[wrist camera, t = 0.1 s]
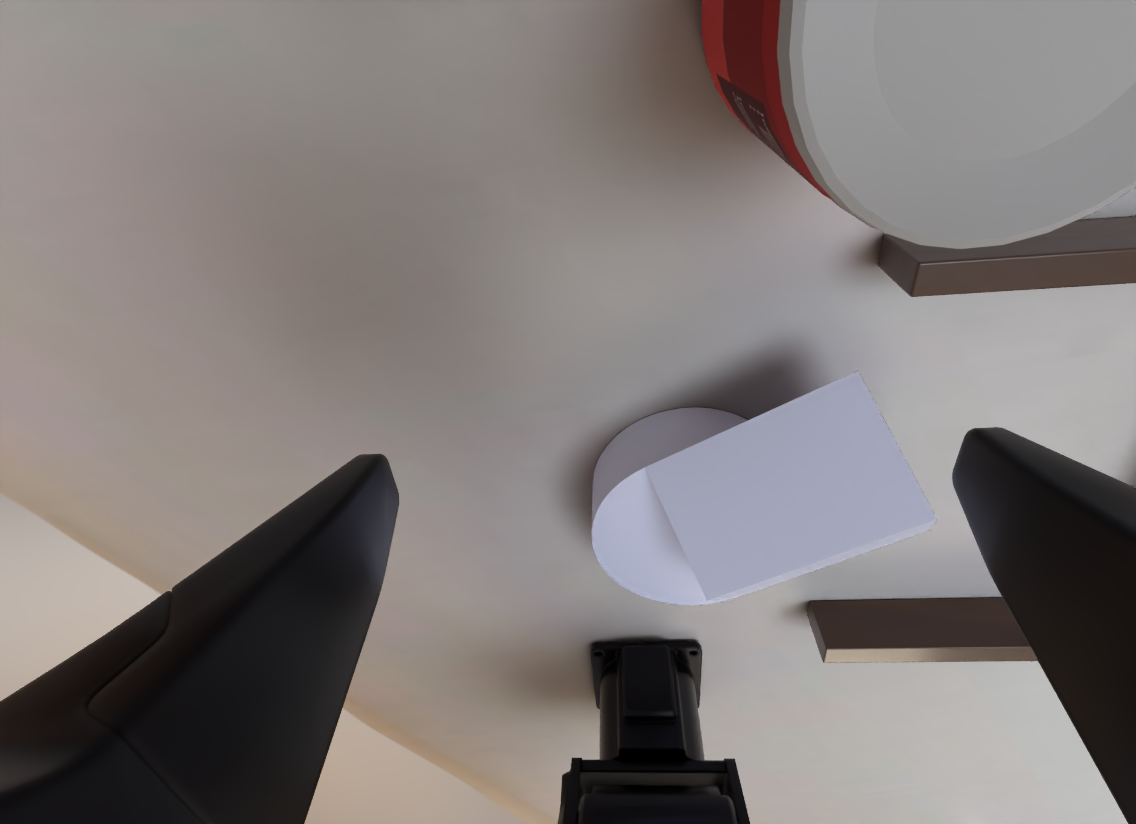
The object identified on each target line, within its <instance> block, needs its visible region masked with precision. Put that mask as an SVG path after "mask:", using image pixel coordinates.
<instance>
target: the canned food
mask: <svg viewBox="0 0 1136 824" xmlns="http://www.w3.org/2000/svg"><path fill="white" fill-rule="evenodd" d="M702 38H703V44H704V50H705V56H706V62H707V65H708V68H709V71H710V74H711V76H712V79H713V82H714V85H715V88H716V89H717V91H718V92H719V94H720V96H721V97H722V99H723V101H724V102H725V104H726V106H727V107H728V109H729V110H730V111H731V112H732V113H733V114H734V115H735V116H736V117H737V118H738V119H739V121H740V122H741V123H742V124H743V125H744V126H745V127H747V128H748V129H749V130H750V131H751V132H752V133H753V134H755V135H756V136H757V137H758V138H759V139H760V140H761V141H763V142H764V143H765V144H766V145H767V146H768V147H769V148H771V149H772V150H773V151H774V152H775V153H776V154H777V155H779V156H780V157H781V158H782V159H783V160H784V161H785V162H787V163H788V164H789V165H790V166H791V167H792V168H793V169H795V170H796V171H797V172H798V173H799V174H800V175H801V176H803V177H804V178H805V179H806V180H807V181H808V182H809V183H811V184H812V185H813V186H814V187H815V188H816V189H817V190H819V191H820V192H821V193H822V194H823V195H825V196H826V197H828V198H830V199H831V200H832V201H833V202H835V203H836V204H837V205H838V206H839V207H840V208H842V209H844V210H845V211H847V212H848V213H850V214H851V215H853V216H855V217H856V218H858V219H859V220H861V221H862V222H864V223H866V224H867V225H869V226H870V227H872V228H875V229H878V230H881V231H882V232H884V233H886V234H889V235H892V236H895V237H898V238H901V239H904V240H907V241H910V242H913V243H916V244H919V245H925V246H935V247H945V248H955V249H966V248H976V247H987V246H997V245H1005V244H1008V243H1012V242H1016V241H1019V240H1023V239H1027V238H1030V237H1034V236H1038V235H1041V234H1045V233H1049V232H1051V231H1053V230H1055V229H1058V228H1060V227H1062V226H1064V225H1067V224H1069V223H1071V222H1074V221H1076V220H1078V219H1080V218H1083V217H1085V216H1087V215H1090V214H1092V213H1094V212H1096V211H1098V210H1099V209H1101V208H1103V207H1104V206H1106V205H1108V204H1109V203H1111V202H1113V201H1114V200H1116V199H1117V198H1119V197H1121V196H1122V195H1124V194H1126V193H1127V192H1129V191H1131V190H1132V189H1134V188H1136V0H702Z"/></svg>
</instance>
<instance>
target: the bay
mask: <svg viewBox="0 0 1136 824" xmlns="http://www.w3.org/2000/svg"><path fill="white" fill-rule="evenodd" d="M878 266H879V267H880V268H881V269H882V270H883V271H884V272H885V273H886V274H887V275H888V276H889V277H890V278H891V279H893V280H894V281H895V282H896V283H897V284H898V285H899V286H900V287H901V288H902V289H903V290H904V291H905V292H906V293H907V294H908V295H909V296H911V297H917V296H933V295H949V294H965V293H981V292H997V291H1013V290H1029V289H1045V288H1061V287H1077V286H1094V285H1110V284H1126V283H1136V216H1134V217H1120V218H1106V219H1092V220H1078V221H1074V222H1071V223H1069V224H1067V225H1064V226H1062V227H1060V228H1058V229H1055V230H1053V231H1051V232H1049V233H1045V234H1041V235H1038V236H1034V237H1030V238H1027V239H1023V240H1019V241H1016V242H1012V243H1008V244H1005V245H997V246H987V247H976V248H966V249H955V248H945V247H935V246H925V245H919V244H916V243H913V242H910V241H907V240H904V239H901V238H898V237H895V236H892V235H889V234H885V235H884V236H883V240H882V245H881V250H880V255H879V260H878ZM807 616H808V619H809V622H810V625H811V628H812V631H813V634H814V636H815V639H816V642H817V645H818V648H819V651H820V654H821V657H822V660H823V662H824V663H850V662H967V661H1038V660H1037V658H1036V656H1035V654H1034V653H1033V651H1032V649H1031V647H1030V645H1029V644H1028V642H1027V640H1026V638H1025V636H1024V635H1023V633H1022V631H1021V629H1020V627H1019V626H1018V624H1017V622H1016V620H1015V618H1014V617H1013V615H1012V613H1011V611H1010V609H1009V608H1008V606H1007V604H1006V602H1005V600H1004V599H1003V598H960V599H904V600H847V601H810V604H809V609H808V614H807Z"/></svg>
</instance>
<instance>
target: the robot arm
mask: <svg viewBox="0 0 1136 824" xmlns="http://www.w3.org/2000/svg"><path fill="white" fill-rule="evenodd" d="M952 479H953V485H954V488H955V491H956V493H957V496H958V498H959V501H960V503H961V506H962V508H963V510H964V513H965V515H966V518H967V520H968V522H969V525H970V527H971V530H972V532H973V535H974V537H975V539H976V542H977V544H978V547H979V549H980V552H981V554H982V556H983V559H984V561H985V563H986V566H987V568H988V570H989V572H990V574H991V576H992V578H993V580H994V582H995V584H996V586H997V588H998V590H999V591H1000V593H1001V595H1002V597H1003V599H1004V600H1005V602H1006V604H1007V606H1008V608H1009V609H1010V611H1011V613H1012V615H1013V617H1014V618H1015V620H1016V622H1017V624H1018V626H1019V627H1020V629H1021V631H1022V633H1023V635H1024V636H1025V638H1026V640H1027V642H1028V644H1029V645H1030V647H1031V649H1032V651H1033V653H1034V654H1035V656H1036V658H1037V660H1038V662H1039V663H1040V665H1041V667H1042V669H1043V671H1044V672H1045V674H1046V676H1047V678H1048V680H1049V682H1050V683H1051V685H1052V687H1053V689H1054V691H1055V692H1056V694H1057V696H1058V698H1059V700H1060V701H1061V703H1062V705H1063V707H1064V709H1065V710H1066V712H1067V714H1068V716H1069V718H1070V719H1071V721H1072V723H1073V725H1074V727H1075V728H1076V730H1077V732H1078V734H1079V736H1080V737H1081V739H1082V741H1083V743H1084V745H1085V746H1086V748H1087V750H1088V752H1089V754H1090V755H1091V757H1092V759H1093V761H1094V763H1095V764H1096V766H1097V768H1098V770H1099V772H1100V773H1101V775H1102V777H1103V779H1104V781H1105V782H1106V784H1107V786H1108V788H1109V790H1110V791H1111V793H1112V795H1113V797H1114V799H1115V800H1116V802H1117V804H1118V806H1119V808H1120V809H1121V811H1122V813H1123V815H1124V817H1125V818H1126V820H1127V822H1128V824H1136V488H1134V487H1132V486H1130V485H1128V484H1126V483H1123V482H1121V481H1119V480H1117V479H1114V478H1112V477H1110V476H1108V475H1106V474H1103V473H1101V472H1099V471H1097V470H1095V469H1092V468H1090V467H1088V466H1086V465H1083V464H1081V463H1079V462H1077V461H1075V460H1072V459H1070V458H1068V457H1066V456H1064V455H1061V454H1059V453H1057V452H1055V451H1052V450H1050V449H1048V448H1046V447H1044V446H1041V445H1039V444H1037V443H1035V442H1032V441H1030V440H1028V439H1026V438H1024V437H1021V436H1019V435H1017V434H1015V433H1013V432H1010V431H1008V430H1006V429H1003V428H998V427H993V428H974V429H971V430H970V431H968V432H967V433H966V435H965V437H964V440H963V442H962V445H961V448H960V451H959V454H958V457H957V460H956V463H955V466H954V469H953V475H952ZM398 507H399V493H398V489H397V486H396V483H395V480H394V477H393V474H392V471H391V468H390V465H389V462H388V460H387V458H386V457H385V456H384V455H382V454H363V455H358V456H357V457H355V458H354V459H352V460H351V461H350V462H348V463H347V464H345V465H344V466H342V467H341V468H340V469H338V470H337V471H335V472H334V473H333V474H331V475H330V476H328V477H327V478H326V479H324V480H323V481H321V482H320V483H319V484H317V485H316V486H314V487H313V488H312V489H310V490H309V491H307V492H306V493H305V494H303V495H302V496H300V497H299V498H298V499H296V500H295V501H293V502H292V503H291V504H289V505H288V506H286V507H285V508H284V509H282V510H281V511H279V512H278V513H277V514H275V515H274V516H272V517H271V518H269V519H268V520H267V521H265V522H264V523H262V524H261V525H260V526H258V527H257V528H255V529H254V530H253V531H251V532H250V533H248V534H247V535H246V536H244V537H243V538H241V539H240V540H239V541H237V542H236V543H234V544H233V545H232V546H230V547H229V548H227V549H226V550H225V551H223V552H222V553H220V554H219V555H218V556H216V557H215V558H213V559H212V560H210V561H209V562H208V563H206V564H205V565H203V566H202V567H201V568H199V569H198V570H196V571H195V572H194V573H192V574H191V575H189V576H188V577H187V578H185V579H184V580H182V581H181V582H180V583H178V584H177V585H175V586H174V587H173V588H172V592H171V591H167V592H165V593H164V594H163V595H161V596H160V597H158V598H157V599H156V600H154V601H153V602H151V603H150V604H149V605H147V606H146V607H144V608H143V609H142V610H140V611H139V612H137V613H136V614H135V615H133V616H132V617H130V618H129V619H127V620H126V621H124V622H123V623H121V624H120V625H118V626H117V627H115V628H114V629H113V630H111V631H110V632H108V633H107V634H106V635H104V636H102V637H101V638H99V639H98V640H96V641H95V642H93V643H92V644H90V645H88V646H87V647H85V648H84V649H82V650H81V651H79V652H78V653H76V654H74V655H73V656H71V657H70V658H68V659H67V660H65V661H64V662H62V663H60V664H59V665H57V666H56V667H54V668H53V669H51V670H49V671H48V672H46V673H45V674H43V675H41V676H40V677H38V678H37V679H35V680H34V681H32V682H30V683H29V684H27V685H26V686H24V687H22V688H21V689H19V690H18V691H16V692H15V693H13V694H11V695H10V696H8V697H7V698H5V699H3V700H2V701H0V824H304V823H305V820H306V817H307V814H308V811H309V807H310V805H311V801H312V799H313V796H314V792H315V789H316V786H317V783H318V780H319V777H320V774H321V771H322V768H323V765H324V762H325V759H326V756H327V753H328V750H329V747H330V744H331V741H332V738H333V735H334V732H335V729H336V726H337V723H338V720H339V717H340V714H341V711H342V708H343V705H344V701H345V698H346V695H347V692H348V689H349V686H350V683H351V680H352V677H353V674H354V671H355V668H356V665H357V662H358V659H359V656H360V653H361V650H362V647H363V644H364V641H365V638H366V635H367V632H368V629H369V626H370V623H371V620H372V617H373V613H374V610H375V607H376V604H377V601H378V598H379V595H380V591H381V588H382V584H383V580H384V576H385V571H386V566H387V561H388V556H389V551H390V546H391V541H392V537H393V532H394V527H395V522H396V517H397V512H398ZM591 663H592V671H593V680H594V689H595V697H596V706H597V708H598V709H600V760H582V758H572V763H571V769H570V771H569V772H567V773H565V774H564V775H562V791H561V805H560V813H559V819H558V824H750V821H749V817H748V813H747V809H746V804H745V800H744V796H743V792H742V788H741V783H740V779H739V775H738V771H737V767H736V763H735V759H724V761H708V760H704V752H703V745H702V737H701V730H700V722H699V714H698V708H699V702H700V683H701V664H702V649H701V645H700V644H699V643H697V642H644V643H595V644H593V645H592V646H591Z"/></svg>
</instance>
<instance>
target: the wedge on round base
mask: <svg viewBox="0 0 1136 824" xmlns="http://www.w3.org/2000/svg"><path fill="white" fill-rule="evenodd" d="M936 520H937V517H936V515H935V514H934V512H933V510H932V508H931V506H930V504H929V502H928V500H927V499H926V497H925V495H924V493H923V491H922V489H921V487H920V485H919V484H918V482H917V480H916V478H915V476H914V474H913V472H912V470H911V469H910V467H909V465H908V463H907V461H906V459H905V457H904V455H903V454H902V452H901V450H900V448H899V446H898V444H897V442H896V440H895V439H894V437H893V435H892V433H891V431H890V429H889V427H888V425H887V424H886V422H885V420H884V418H883V416H882V414H881V412H880V410H879V409H878V407H877V405H876V403H875V401H874V399H873V397H872V395H871V394H870V392H869V390H868V388H867V386H866V384H865V382H864V380H863V379H862V377H861V375H860V373H859V371H856V372H853V373H851V374H849V375H847V376H845V377H842V378H840V379H838V380H836V381H834V382H831V383H829V384H827V385H825V386H823V387H820V388H818V389H816V390H814V391H812V392H809V393H807V394H805V395H803V396H801V397H798V398H796V399H794V400H792V401H790V402H787V403H785V404H783V405H781V406H779V407H776V408H774V409H772V410H770V411H768V412H765V413H763V414H761V415H759V416H757V417H754V418H752V419H750V420H747V419H745V418H742V417H740V416H738V415H736V414H732V413H729V412H726V411H723V410H717V409H711V408H698V407H692V408H679V409H673V410H667V411H663V412H660V413H656V414H653V415H650V416H648V417H646V418H643V419H641V420H639V421H637V422H635V423H634V424H632V425H630V426H628V427H627V428H626V429H624V430H623V431H622V432H620V433H619V434H618V435H617V436H616V437H615V438H614V439H613V440H612V441H611V442H610V443H609V444H608V446H607V447H606V448H605V449H604V451H603V452H602V454H601V456H600V458H599V460H598V462H597V465H596V468H595V470H594V476H593V495H592V544H593V549H594V552H595V555H596V557H597V560H598V561H599V563H600V565H601V566H602V568H603V569H604V570H605V571H606V573H607V574H608V575H609V576H610V577H611V578H612V579H613V580H615V581H616V582H617V583H618V584H620V585H621V586H623V587H624V588H626V589H627V590H629V591H631V592H633V593H635V594H637V595H639V596H642V597H645V598H648V599H651V600H654V601H658V602H662V603H669V604H676V605H705V604H713V603H719V602H724V601H728V600H731V599H735V598H738V597H741V596H744V595H747V594H750V593H753V592H755V591H758V590H761V589H764V588H767V587H770V586H773V585H775V584H778V583H781V582H784V581H787V580H790V579H793V578H795V577H798V576H801V575H804V574H807V573H810V572H812V571H815V570H818V569H821V568H824V567H827V566H830V565H832V564H835V563H838V562H841V561H844V560H847V559H850V558H852V557H855V556H858V555H861V554H864V553H867V552H870V551H872V550H875V549H878V548H881V547H884V546H887V545H890V544H892V543H895V542H898V541H901V540H904V539H907V538H910V537H912V536H915V535H918V534H921V533H924V532H927V531H930V529H931V528H932V526H933V525H934V523H935V522H936Z"/></svg>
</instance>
